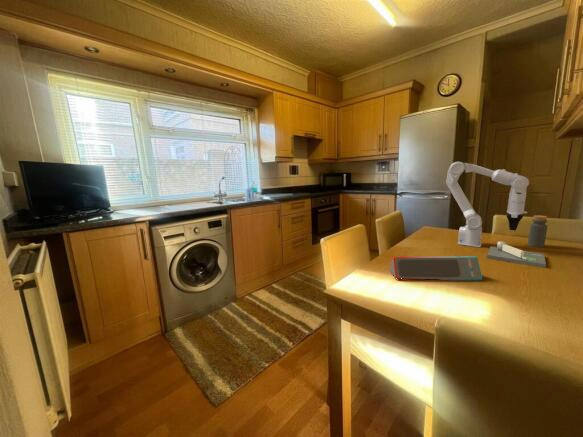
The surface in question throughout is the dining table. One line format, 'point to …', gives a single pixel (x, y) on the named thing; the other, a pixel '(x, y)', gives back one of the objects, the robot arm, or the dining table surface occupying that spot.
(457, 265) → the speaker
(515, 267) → the dining table surface
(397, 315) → the dining table surface
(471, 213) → the robot arm
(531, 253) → the board
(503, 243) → the peg lever
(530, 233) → the bottle
